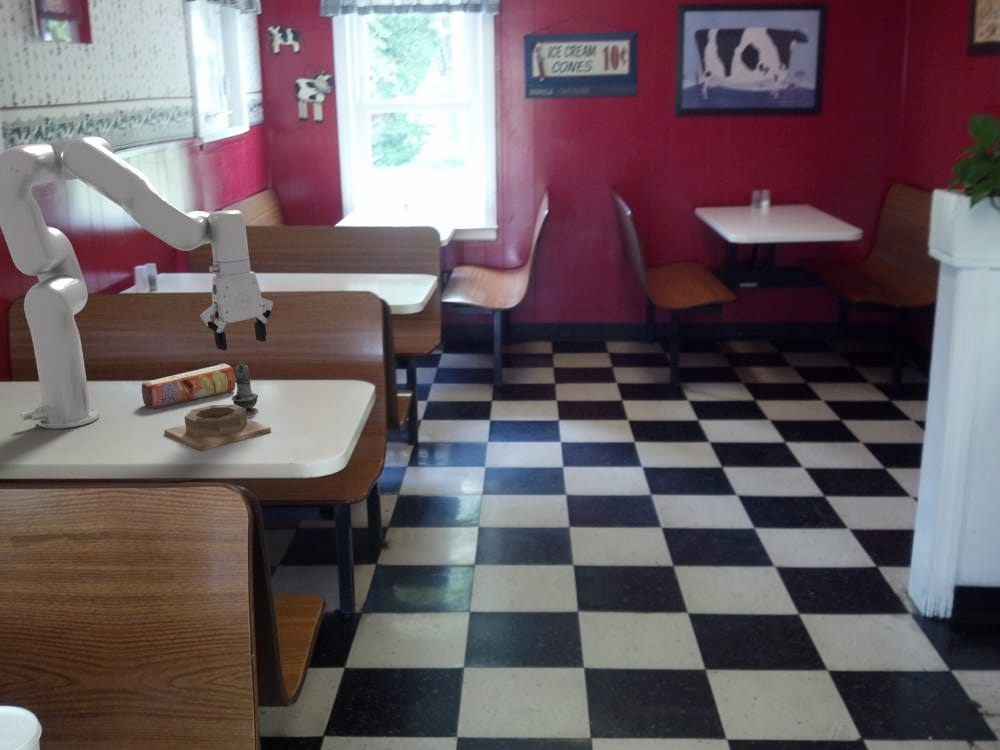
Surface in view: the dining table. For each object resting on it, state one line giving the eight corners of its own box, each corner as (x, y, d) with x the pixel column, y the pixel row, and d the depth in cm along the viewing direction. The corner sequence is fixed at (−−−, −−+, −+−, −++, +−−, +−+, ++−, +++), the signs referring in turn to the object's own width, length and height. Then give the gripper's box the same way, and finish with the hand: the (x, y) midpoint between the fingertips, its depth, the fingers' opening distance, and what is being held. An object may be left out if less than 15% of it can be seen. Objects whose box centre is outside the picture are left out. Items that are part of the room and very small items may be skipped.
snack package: (152, 411, 232) (149, 383, 230) (141, 405, 237) (138, 377, 235) (238, 392, 245) (235, 365, 244) (225, 387, 250) (223, 361, 248)
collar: (201, 450, 203) (198, 429, 202) (164, 434, 214) (162, 413, 213) (271, 431, 214) (269, 411, 213) (232, 417, 225) (230, 397, 224)
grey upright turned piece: (263, 408, 231) (258, 357, 228) (254, 416, 225) (249, 363, 222) (238, 408, 232) (232, 357, 228) (229, 416, 226) (223, 363, 223)
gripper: (204, 275, 212) (214, 355, 216) (276, 263, 223) (284, 339, 227) (187, 272, 217) (197, 350, 221) (258, 261, 228) (267, 335, 233)
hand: (241, 344), depth 224 cm, fingers open, 9 cm apart
